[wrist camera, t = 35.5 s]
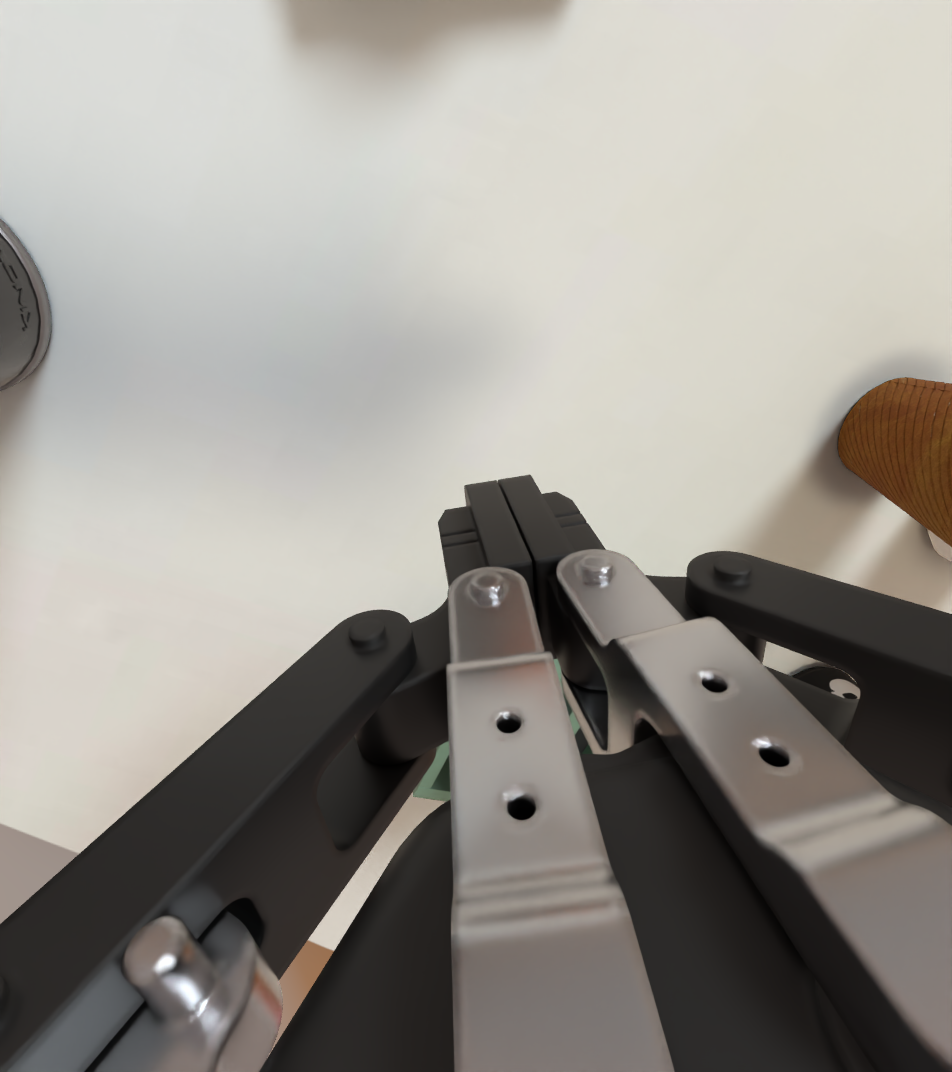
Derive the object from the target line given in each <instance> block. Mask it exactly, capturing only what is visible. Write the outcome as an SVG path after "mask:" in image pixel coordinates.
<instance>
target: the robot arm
mask: <svg viewBox="0 0 952 1072" xmlns="http://www.w3.org/2000/svg"><path fill="white" fill-rule="evenodd" d="M50 333H51V311H50V304H49V300H48V295H47V292H46V289H45V286H44V283H43V280H42V278H41V276H40V273H39V271H38V269H37V267H36V265H35V263H34V261H33V260H32V258H31V257H30V255H29V253H28V252H27V250H26V249H25V247H24V246H23V245H22V243H21V242H20V240H19V239H18V238H17V237H16V235H15V234H14V233H13V232H12V231H11V229H10V228H9V227H8V226H7V225H6V224H5V223H4V222H3V221H2V220H1V219H0V391H2V390H4V389H6V388H8V387H11V386H13V385H15V384H17V383H18V382H20V381H22V380H23V379H25V378H26V377H27V376H28V375H30V374H31V373H32V372H33V370H34V369H35V368H36V367H37V366H38V364H39V363H40V362H41V360H42V358H43V356H44V354H45V352H46V349H47V346H48V343H49V339H50ZM464 489H465V498H466V507H460V508H454V509H448V510H445V511H444V513H443V515H442V516H441V518H440V520H439V521H438V526H439V532H440V538H441V544H442V550H443V556H444V562H445V569H446V575H447V581H448V586H449V589H448V597H447V599H446V601H445V602H444V604H443V605H442V606H441V607H440V608H438V609H437V610H436V611H435V612H433V613H431V614H430V615H428V616H426V617H424V618H422V619H419V620H417V621H414V622H412V623H410V622H409V620H408V619H407V618H406V617H405V616H403V615H402V614H400V613H397V612H395V611H390V610H371V611H366V612H362V613H359V614H356V615H353V616H351V617H349V618H347V619H346V620H344V621H342V622H341V623H340V624H338V625H337V626H336V627H335V628H334V629H332V630H331V631H330V632H329V633H328V634H327V635H326V636H324V637H323V638H322V639H321V640H320V641H319V642H318V643H317V644H315V645H314V646H313V647H312V648H311V649H310V650H309V651H308V652H306V653H305V654H304V655H303V656H302V657H301V658H300V659H299V660H297V661H296V662H295V663H294V664H293V665H292V666H291V667H290V668H288V669H287V670H286V671H285V672H284V673H283V674H282V675H281V676H279V677H278V678H277V679H276V680H275V681H274V682H273V683H272V684H270V685H269V686H268V687H267V688H266V689H265V690H264V691H263V692H261V693H260V694H259V695H258V696H257V697H256V698H255V699H253V700H252V701H251V702H250V703H249V704H248V705H247V706H246V707H244V708H243V709H242V710H241V711H240V712H239V713H238V714H237V715H235V716H234V717H233V718H232V719H231V720H230V721H229V722H228V723H226V724H225V725H224V726H223V727H222V728H221V729H220V730H219V731H217V732H216V733H215V734H214V735H213V736H212V737H211V738H210V739H208V740H207V741H206V742H205V743H204V744H203V745H202V746H201V747H199V748H198V749H197V750H196V751H195V752H194V753H193V754H192V755H190V756H189V757H188V758H187V759H186V760H185V761H184V762H182V763H181V764H180V765H179V766H178V767H177V768H176V769H175V770H173V771H172V772H171V773H170V774H169V775H168V776H167V777H166V778H164V779H163V780H162V781H161V782H160V783H159V784H158V785H157V786H155V787H154V788H153V789H152V790H151V791H150V792H149V793H148V794H146V795H145V796H144V797H143V798H142V799H141V800H140V801H139V802H137V803H136V804H135V805H134V806H133V807H132V808H131V809H130V810H128V811H127V812H126V813H125V814H124V815H123V816H122V817H121V818H119V819H118V820H117V821H116V822H115V823H114V824H113V825H111V826H110V827H109V828H108V829H107V830H106V831H105V832H104V833H102V834H101V835H100V836H99V837H98V838H97V839H96V840H95V841H93V842H92V843H91V844H90V845H89V846H88V847H87V848H86V849H84V850H83V851H82V852H81V853H80V854H79V855H78V856H77V857H75V858H74V859H73V860H72V861H71V862H70V863H69V864H68V865H66V866H65V867H64V868H63V869H62V870H61V871H60V872H59V873H58V874H56V875H55V876H54V877H53V878H52V879H51V880H50V881H48V882H47V883H46V884H45V885H44V886H43V887H42V888H40V890H38V891H37V892H36V893H35V894H34V895H33V896H31V897H30V898H29V899H28V900H27V901H26V902H25V903H24V904H22V905H21V906H20V907H19V908H18V909H17V910H16V911H15V912H14V913H12V914H11V915H10V916H9V917H8V918H7V919H6V920H4V921H3V922H2V923H1V924H0V1072H952V614H949V613H946V612H942V611H939V610H936V609H932V608H929V607H925V606H922V605H918V604H915V603H912V602H908V601H905V600H901V599H898V598H895V597H891V596H888V595H884V594H881V593H877V592H874V591H871V590H867V589H864V588H860V587H857V586H853V585H850V584H847V583H843V582H840V581H836V580H833V579H830V578H826V577H823V576H819V575H816V574H812V573H809V572H806V571H802V570H799V569H795V568H792V567H788V566H785V565H782V564H778V563H775V562H771V561H768V560H764V559H761V558H758V557H754V556H751V555H747V554H743V553H738V552H730V551H717V552H709V553H705V554H702V555H699V556H697V557H696V558H694V559H693V560H692V561H691V562H690V563H689V565H688V567H687V577H661V576H649V575H644V573H643V572H642V571H641V570H640V569H639V568H638V567H637V566H636V565H635V563H634V562H633V561H632V560H630V559H629V558H628V557H626V556H624V555H622V554H620V553H617V552H614V551H609V550H606V549H605V548H604V546H603V545H602V543H601V542H600V540H599V539H598V537H597V536H596V534H595V533H594V532H593V530H592V529H591V527H590V526H589V524H588V523H586V520H585V518H584V517H583V515H582V514H580V511H579V509H578V508H577V507H576V505H575V504H574V502H573V501H572V500H571V499H569V498H567V497H565V496H563V495H562V494H560V493H558V492H551V493H545V494H541V492H540V490H539V488H538V487H537V485H536V483H535V482H534V480H533V478H532V477H531V475H525V476H519V477H513V478H506V479H500V480H498V483H497V481H496V480H495V481H488V482H482V483H476V484H470V485H465V486H464ZM767 641H768V642H771V643H774V644H776V645H779V646H781V647H784V648H787V649H789V650H792V651H795V652H797V653H800V654H803V655H805V656H808V657H810V658H813V659H816V660H818V661H821V662H824V663H826V664H829V665H831V666H834V667H837V668H839V669H841V670H843V671H845V672H846V673H847V674H849V675H850V676H851V677H852V678H853V679H854V680H855V681H856V683H857V684H858V686H859V689H860V698H859V699H847V698H843V697H840V696H837V695H835V694H832V693H830V692H828V691H825V690H823V689H820V688H818V687H815V686H813V685H810V684H808V683H806V682H803V681H801V680H798V679H796V678H793V677H791V676H788V675H786V674H783V673H781V672H779V671H776V670H774V669H771V668H769V667H766V666H764V665H763V664H762V662H763V657H764V652H765V647H766V642H767ZM554 659H558V662H559V664H560V667H561V685H562V688H561V685H560V681H559V677H558V674H557V670H556V667H555V663H554ZM562 690H563V692H562ZM563 693H564V695H565V697H566V699H567V701H568V703H569V705H570V707H571V709H572V711H573V713H574V715H575V718H576V720H577V722H578V724H579V726H580V728H581V730H582V732H583V734H584V736H585V738H586V740H587V742H588V744H589V746H590V748H591V750H592V752H593V754H579V750H578V746H577V743H576V739H575V736H574V732H573V728H572V725H571V721H570V717H569V714H568V710H567V706H566V703H565V699H564V696H563ZM448 741H449V763H450V794H451V799H450V800H449V801H447V802H445V803H444V804H442V805H441V806H440V807H438V808H437V809H436V810H434V811H433V812H432V813H431V814H429V815H428V816H427V817H426V818H425V819H424V820H423V821H422V822H421V823H420V824H419V825H418V826H417V827H416V828H415V829H414V830H413V831H412V832H411V834H410V835H409V836H408V837H407V839H406V840H405V841H404V842H403V843H402V845H401V846H400V847H399V849H398V850H397V852H396V853H395V855H394V856H393V858H392V859H391V861H390V863H389V864H388V866H387V867H386V869H385V871H384V872H383V874H382V875H381V877H380V879H379V880H378V882H377V883H376V885H375V887H374V888H373V890H372V891H371V893H370V895H369V896H368V898H367V899H366V901H365V903H364V904H363V906H362V907H361V909H360V911H359V912H358V914H357V915H356V917H355V919H354V920H353V922H352V923H351V925H350V927H349V928H348V930H347V932H346V933H345V935H344V936H343V938H342V940H341V941H340V943H339V944H338V946H337V948H336V949H335V951H334V952H333V954H332V956H331V957H330V959H329V961H328V962H327V964H326V965H325V967H324V968H323V970H322V972H321V973H320V975H319V976H318V978H317V980H316V981H315V983H314V984H313V986H312V988H311V989H310V991H309V993H308V994H307V996H306V997H305V999H304V1000H303V1002H302V1004H301V1005H300V1007H299V1008H298V1010H297V1012H296V1013H295V1015H294V1016H293V1018H292V1020H291V1021H290V1023H289V1025H288V1026H287V1028H286V1029H285V1031H284V1033H283V1034H282V1036H281V1037H280V1039H279V1040H278V1042H277V1044H276V1045H275V1047H274V1048H273V1050H272V1047H273V1045H274V1042H275V1040H276V1037H277V1034H278V1030H279V1027H280V1023H281V1017H282V1009H283V1007H282V1006H283V1004H282V1003H283V999H282V992H281V987H280V984H279V980H280V978H281V977H282V975H283V974H284V972H285V971H286V970H287V968H288V967H289V965H290V964H291V962H292V961H293V960H294V958H295V957H296V955H297V954H298V953H299V951H300V950H301V948H302V947H303V946H304V944H305V943H306V941H307V940H308V939H309V937H310V936H311V934H312V933H313V932H314V930H315V929H316V927H317V926H318V924H319V923H320V922H321V920H322V919H323V917H324V916H325V915H326V913H327V912H328V910H329V909H330V908H331V906H332V905H333V903H334V902H335V900H336V899H337V898H338V896H339V895H340V893H341V892H342V891H343V889H344V888H345V886H346V885H347V884H348V882H349V881H350V879H351V878H352V876H353V875H354V874H355V872H356V871H357V869H358V868H359V867H360V865H361V864H362V862H363V861H364V860H365V858H366V857H367V855H368V854H369V852H370V851H371V850H372V848H373V847H374V845H375V844H376V843H377V841H378V840H379V838H380V837H381V836H382V834H383V833H384V831H385V830H386V828H387V827H388V826H389V824H390V823H391V821H392V820H393V819H394V817H395V816H396V814H397V813H398V812H399V810H400V809H401V807H402V806H403V804H404V803H405V802H406V800H407V799H408V797H409V796H410V795H411V793H412V792H413V790H414V789H415V788H416V786H417V785H418V783H419V782H420V780H421V779H422V778H423V776H424V775H425V773H426V772H427V771H428V769H429V768H430V766H431V765H432V763H433V761H434V759H435V756H436V751H437V747H438V746H440V745H442V744H444V743H446V742H448ZM271 1050H272V1052H271ZM270 1052H271V1053H270ZM269 1053H270V1055H269ZM268 1055H269V1056H268ZM267 1057H268V1058H267ZM266 1059H267V1060H266Z"/></svg>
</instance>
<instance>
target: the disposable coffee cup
mask: <svg viewBox="0 0 952 1072" xmlns="http://www.w3.org/2000/svg"><path fill="white" fill-rule="evenodd" d="M838 452H839V456H840V458H841V460H842V462H843V464H844V465H845V466H846V467H847V468H848V469H849V470H851V471H852V472H854V473H855V474H856V475H858V476H859V477H860V478H862V479H863V480H864V481H865V482H867V483H868V484H869V485H871V486H872V487H873V488H875V489H876V490H877V491H879V492H880V493H881V494H882V495H884V496H885V497H886V498H887V499H889V500H890V501H892V502H893V503H894V504H895V505H897V506H898V507H900V508H901V509H902V510H903V511H905V512H906V513H907V514H909V515H910V516H911V517H912V518H914V519H915V520H917V521H918V522H919V523H921V524H922V525H923V526H924V527H926V528H927V529H928V530H930V531H931V532H932V533H934V534H935V535H936V536H937V537H939V538H940V539H942V540H943V541H944V542H945V543H947V544H948V545H950V546H951V547H952V384H950V383H946V384H945V383H944V382H935V381H927V380H926V381H925V380H920V379H914V378H906V377H905V378H897V379H893V380H889V381H887V382H885V383H883V384H881V385H879V386H877V387H875V388H874V389H872V390H871V391H869V392H868V393H867V394H866V395H865V396H863V397H862V398H861V399H860V400H859V401H858V402H857V403H856V405H855V406H854V407H853V409H852V410H851V411H850V412H849V414H848V416H847V417H846V419H845V421H844V423H843V425H842V428H841V430H840V434H839V439H838Z"/></svg>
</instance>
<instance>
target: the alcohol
mask: <svg viewBox="0 0 952 1072" xmlns="http://www.w3.org/2000/svg"><path fill="white" fill-rule="evenodd" d="M927 531H928V534H929V537H930V540H931V543H932V545H933V547H934V549H935V550H936V552H937V553H938V554H939V555H940V556H942V557H944V558H945V559H947V560H949V561H950V562H952V547H951V546H950V545H948V544H947V543H945V542H944V541H943V540H942V539H940V538H939V537H937V536H936V535H935V534H934V533H932V532H931V531H930V530H928V529H927Z"/></svg>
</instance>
